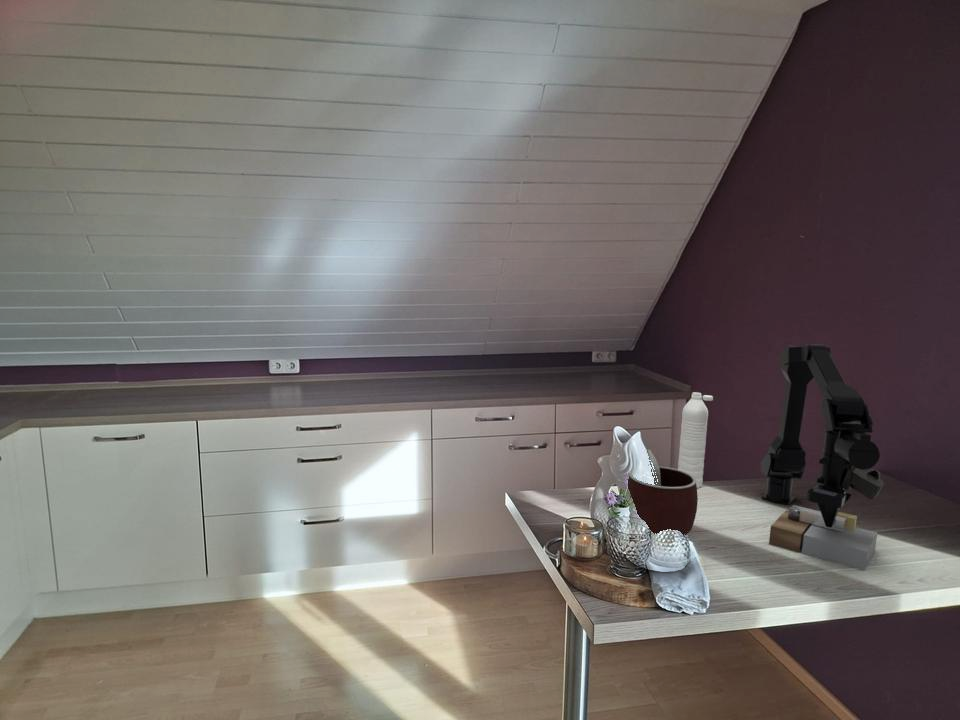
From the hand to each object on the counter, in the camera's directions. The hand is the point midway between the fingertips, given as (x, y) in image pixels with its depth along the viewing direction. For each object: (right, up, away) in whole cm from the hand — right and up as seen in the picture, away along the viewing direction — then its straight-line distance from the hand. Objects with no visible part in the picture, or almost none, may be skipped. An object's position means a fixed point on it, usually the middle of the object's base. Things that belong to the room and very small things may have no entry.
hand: (828, 526), depth 138 cm
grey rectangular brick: (+2, -5, 0) cm, 6 cm away
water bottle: (-17, +1, +37) cm, 41 cm away
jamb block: (-5, -4, +6) cm, 9 cm away
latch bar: (-1, 0, +4) cm, 4 cm away
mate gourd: (-38, -5, -4) cm, 38 cm away
